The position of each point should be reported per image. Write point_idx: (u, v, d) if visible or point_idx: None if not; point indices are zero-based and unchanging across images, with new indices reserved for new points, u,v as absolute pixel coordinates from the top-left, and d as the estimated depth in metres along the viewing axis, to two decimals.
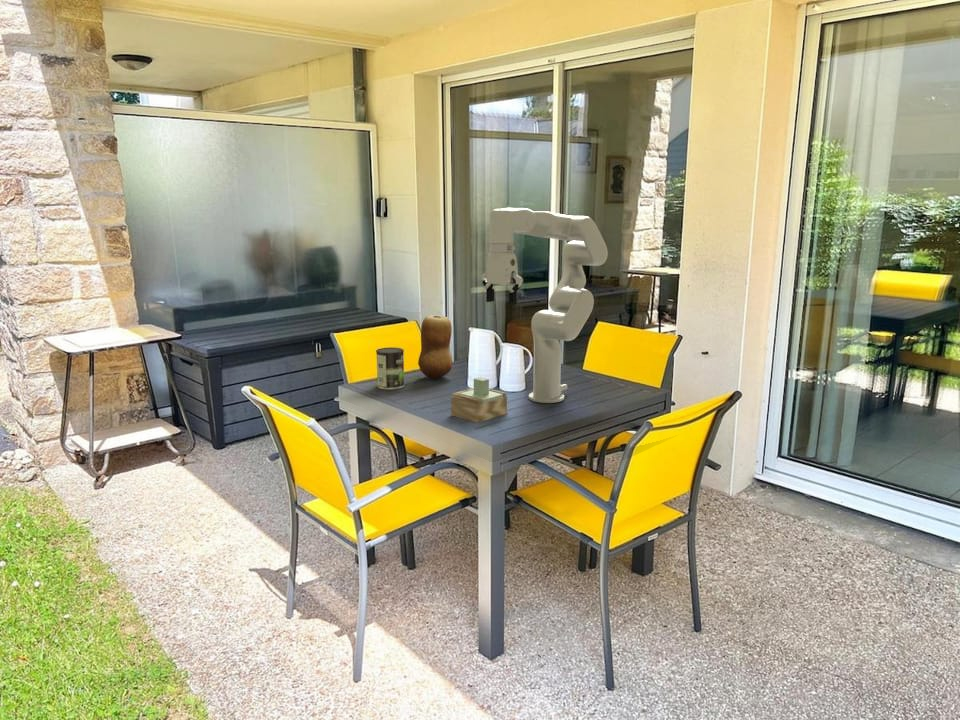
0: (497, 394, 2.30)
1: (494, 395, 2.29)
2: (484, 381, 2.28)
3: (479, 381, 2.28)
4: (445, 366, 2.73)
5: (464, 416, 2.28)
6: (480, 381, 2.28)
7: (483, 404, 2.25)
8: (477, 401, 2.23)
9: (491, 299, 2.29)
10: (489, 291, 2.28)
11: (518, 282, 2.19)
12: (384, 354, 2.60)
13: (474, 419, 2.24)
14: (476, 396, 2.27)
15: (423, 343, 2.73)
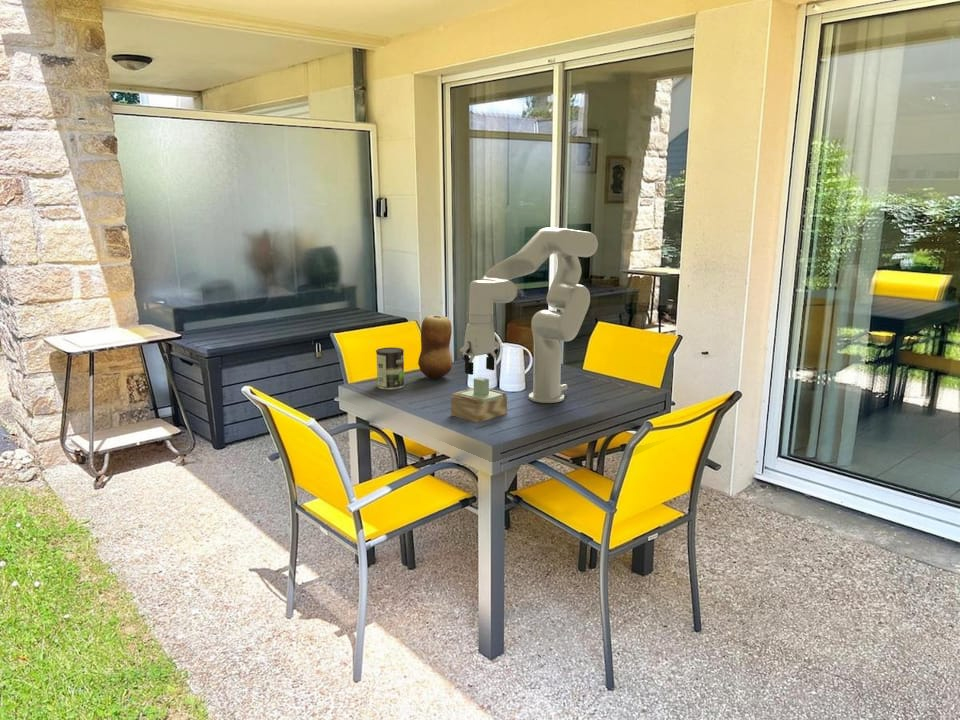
0: (497, 394, 2.30)
1: (494, 395, 2.29)
2: (484, 381, 2.28)
3: (479, 381, 2.28)
4: (445, 366, 2.73)
5: (464, 416, 2.28)
6: (480, 381, 2.28)
7: (483, 404, 2.25)
8: (477, 401, 2.23)
9: None
10: None
11: (498, 347, 2.32)
12: (384, 354, 2.60)
13: (474, 419, 2.24)
14: (476, 396, 2.27)
15: (423, 343, 2.73)
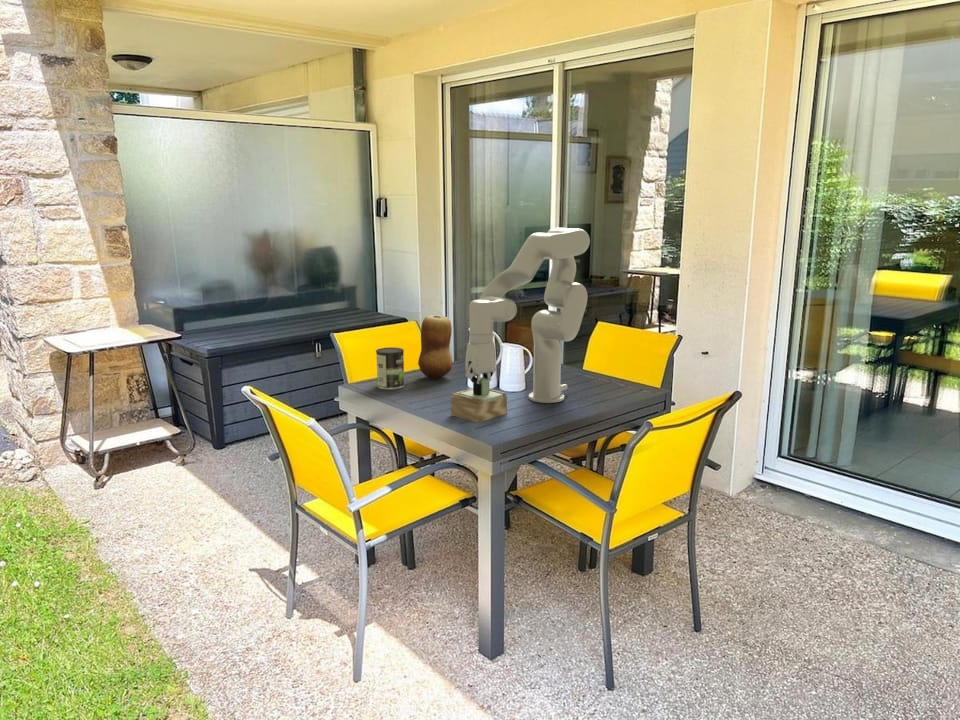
0: (497, 394, 2.30)
1: (494, 395, 2.29)
2: (484, 381, 2.28)
3: None
4: (445, 366, 2.73)
5: (464, 416, 2.28)
6: (480, 381, 2.28)
7: (483, 404, 2.25)
8: (477, 401, 2.23)
9: None
10: None
11: (493, 371, 2.32)
12: (384, 354, 2.60)
13: (474, 419, 2.24)
14: (476, 396, 2.27)
15: (423, 343, 2.73)
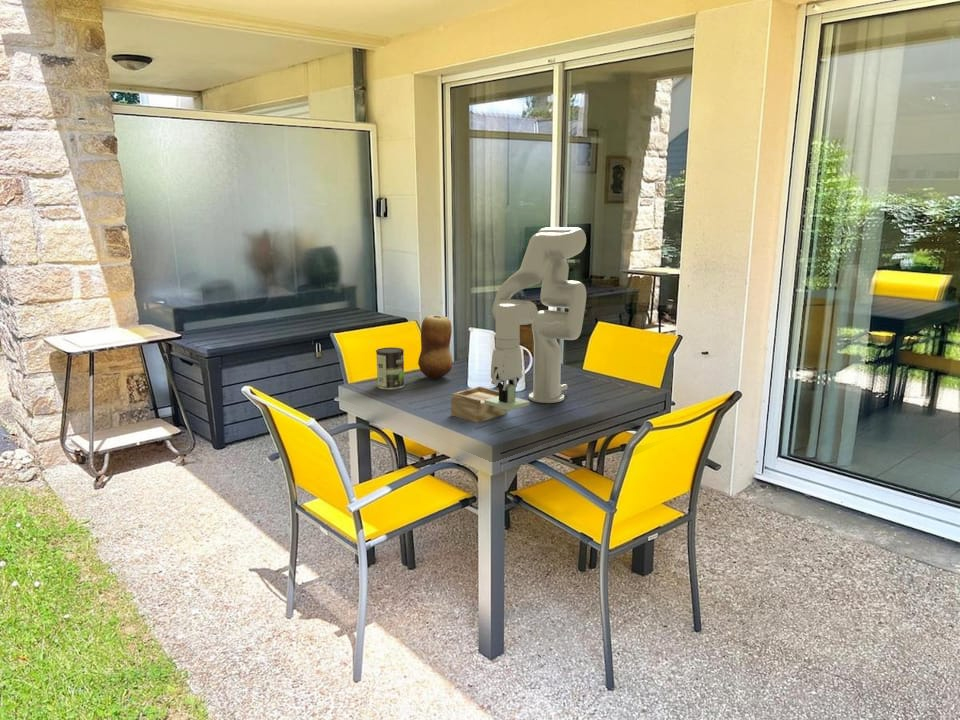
0: (523, 401, 2.22)
1: (520, 402, 2.21)
2: (510, 387, 2.20)
3: None
4: (445, 366, 2.73)
5: (464, 416, 2.28)
6: (506, 387, 2.20)
7: (483, 404, 2.25)
8: (477, 401, 2.23)
9: None
10: None
11: (519, 377, 2.24)
12: (384, 354, 2.60)
13: (474, 419, 2.24)
14: (502, 403, 2.20)
15: (423, 343, 2.73)
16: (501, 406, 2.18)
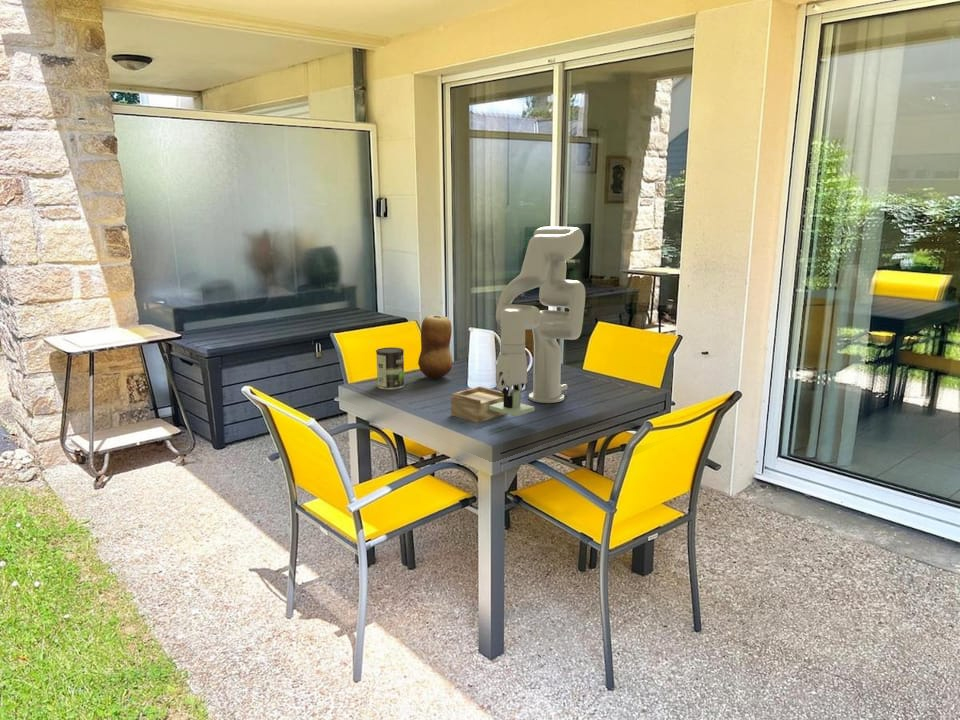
0: (528, 406, 2.21)
1: (525, 408, 2.19)
2: (515, 393, 2.18)
3: None
4: (445, 366, 2.73)
5: (464, 416, 2.28)
6: (511, 393, 2.18)
7: (483, 404, 2.25)
8: (477, 401, 2.23)
9: None
10: None
11: (524, 383, 2.23)
12: (384, 354, 2.60)
13: (474, 419, 2.24)
14: (507, 409, 2.18)
15: (423, 343, 2.73)
16: (506, 412, 2.17)
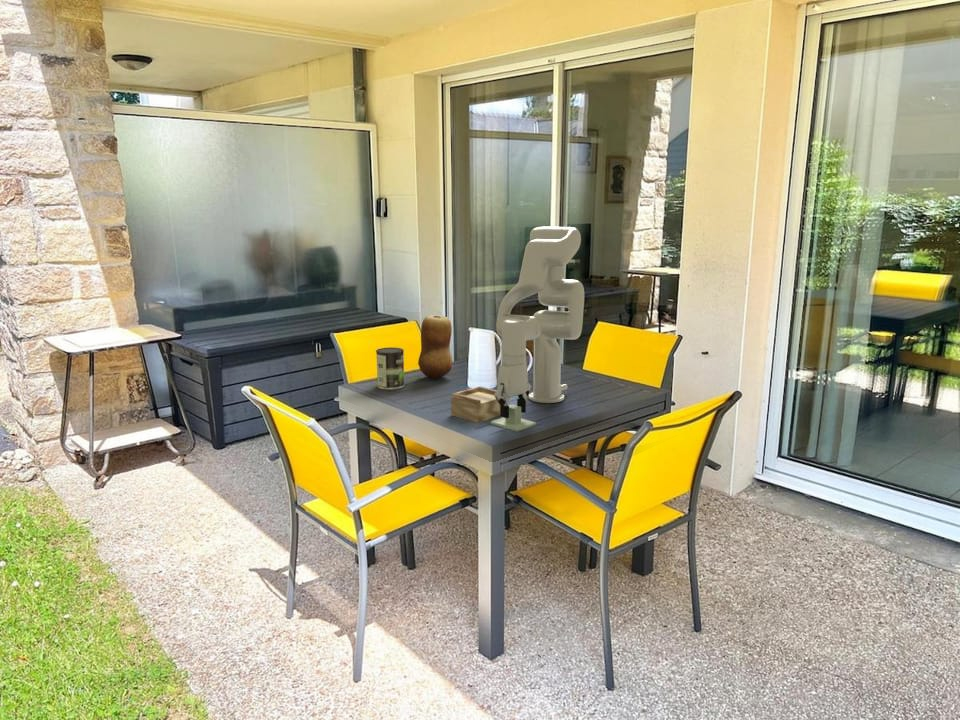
0: (529, 422, 2.22)
1: (527, 423, 2.21)
2: (516, 409, 2.20)
3: (511, 409, 2.20)
4: (445, 366, 2.73)
5: (464, 416, 2.28)
6: (512, 409, 2.20)
7: (483, 404, 2.25)
8: (477, 401, 2.23)
9: None
10: None
11: (529, 388, 2.25)
12: (384, 354, 2.60)
13: (474, 419, 2.24)
14: (508, 425, 2.19)
15: (423, 343, 2.73)
16: (508, 428, 2.18)
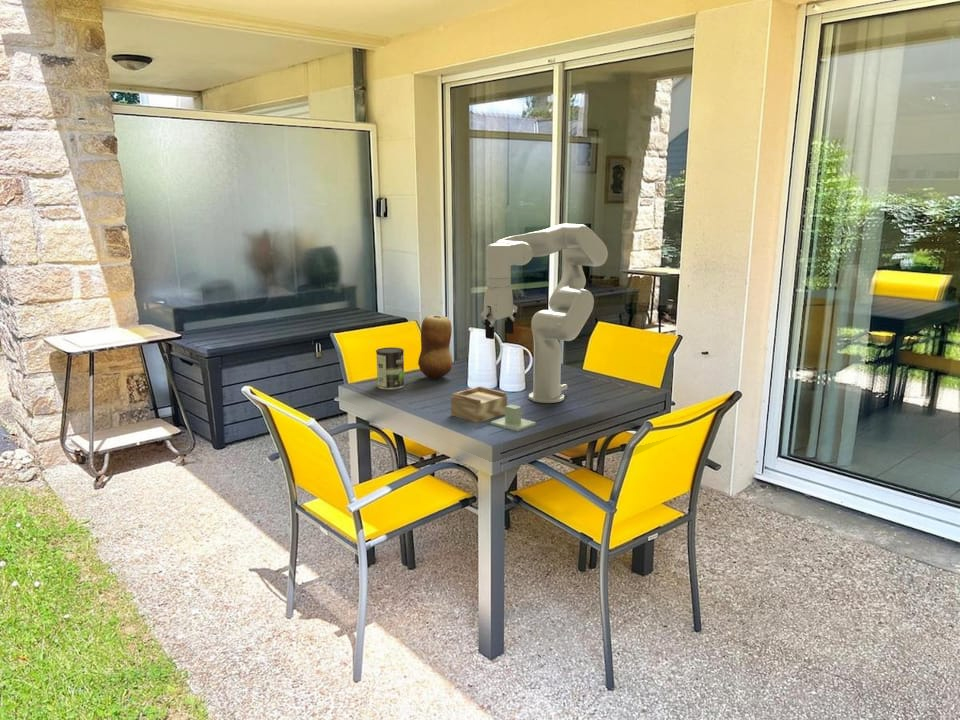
0: (529, 422, 2.22)
1: (527, 423, 2.21)
2: (517, 409, 2.20)
3: (511, 409, 2.20)
4: (445, 366, 2.73)
5: (464, 416, 2.28)
6: (512, 409, 2.20)
7: (483, 404, 2.25)
8: (477, 401, 2.23)
9: None
10: None
11: (515, 310, 2.31)
12: (384, 354, 2.60)
13: (474, 419, 2.24)
14: (509, 425, 2.19)
15: (423, 343, 2.73)
16: (508, 428, 2.18)
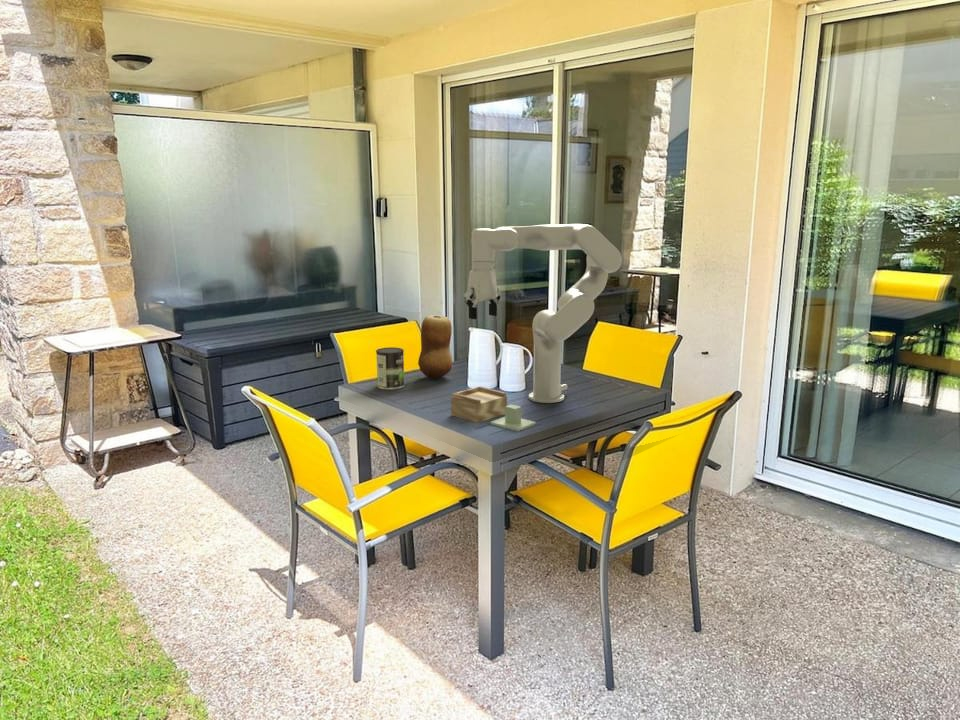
0: (529, 421, 2.22)
1: (527, 423, 2.21)
2: (517, 409, 2.20)
3: (512, 409, 2.20)
4: (445, 366, 2.73)
5: (464, 416, 2.28)
6: (513, 409, 2.20)
7: (483, 404, 2.25)
8: (477, 401, 2.23)
9: None
10: None
11: (500, 293, 2.42)
12: (384, 354, 2.60)
13: (474, 419, 2.24)
14: (509, 425, 2.19)
15: (423, 343, 2.73)
16: (508, 428, 2.18)
